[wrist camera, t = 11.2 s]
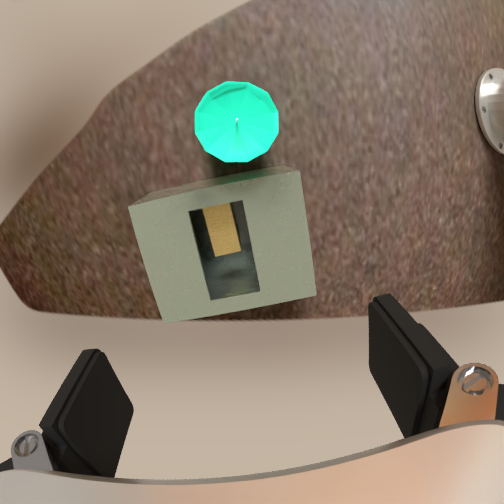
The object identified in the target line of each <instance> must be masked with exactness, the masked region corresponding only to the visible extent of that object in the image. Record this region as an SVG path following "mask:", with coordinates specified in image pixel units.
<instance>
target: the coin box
mask: <svg viewBox="0 0 504 504" xmlns="http://www.w3.org/2000/svg"><path fill="white" fill-rule="evenodd" d="M230 202H232V205H233V209H234V213H235V217H236V221H237V225H238V229H239V233H240V241H241V251H238V252H234V253H230V254H226V255H221V256H217V257H215V254H214V250H213V247H212V243H211V239H210V236H209V232H208V228H207V224H206V221H205V217H204V213H203V209H202V208H206V207H211V206H215V205H220V204H225V203H230ZM128 208H129V212H130V216H131V220H132V223H133V227H134V231H135V234H136V238H137V241H138V245H139V248H140V251H141V255H142V258H143V261H144V265H145V268H146V271H147V274H148V278H149V281H150V284H151V287H152V290H153V293H154V296H155V299H156V302H157V305H158V308H159V311H160V314H161V316H162V319H163V322H164V324H165V323H171V322H178V321H184V320H190V319H196V318H202V317H208V316H213V315H219V314H225V313H230V312H236V311H241V310H246V309H252V308H257V307H262V306H267V305H272V304H277V303H282V302H287V301H292V300H297V299H301V298H306V297H311V296H315V295H316V286H315V277H314V269H313V261H312V253H311V246H310V238H309V231H308V224H307V217H306V210H305V203H304V197H303V190H302V184H301V178H300V172H299V170H297V169H294V168H291V167H289V166H286V165H278V166H273V167H267V168H261V169H256V170H251V171H245V172H240V173H235V174H230V175H225V176H220V177H216V178H211V179H206V180H202V181H197V182H193V183H188V184H184V185H180V186H175V187H171V188H167V189H163V190H159V191H155V192H151V193H149V194H148V195H146V196H144V197H143V198H141V199H140V200H138V201H136V202H135V203H133V204H131V205H130V206H128Z"/></svg>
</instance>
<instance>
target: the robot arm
mask: <svg viewBox="0 0 504 504" xmlns="http://www.w3.org/2000/svg"><path fill="white" fill-rule="evenodd" d="M475 105H476V113H477V117H478V121H479V124H480V127H481V130H482V132H483V134H484V136H485V138H486V139H487V141H488V143H489V144H490V145H491V146H492V147H493V149H495V150H496V151H497V152H498V153H500V154H503V155H504V69H501V68H492V69H488V70H486V71H485V72H484V73H483V74H482V75H481V76H480V78H479V80H478V83H477V86H476V93H475ZM368 312H369V368H370V372H371V374H372V376H373V378H374V380H375V381H376V383H377V385H378V387H379V389H380V391H381V393H382V395H383V397H384V399H385V401H386V403H387V404H388V406H389V408H390V410H391V412H392V414H393V416H394V418H395V420H396V422H397V424H398V426H399V428H400V430H401V432H402V434H403V436H404V439H401V440H398V441H395V442H392V443H389V444H386V445H383V446H380V447H377V448H374V449H370V450H366V451H363V452H359V453H356V454H352V455H348V456H344V457H340V458H336V459H333V460H328V461H324V462H320V463H315V464H311V465H306V466H301V467H296V468H290V469H285V470H279V471H272V472H265V473H258V474H250V475H242V476H233V477H222V478H207V479H184V480H147V479H146V480H145V479H124V478H114V477H115V473H116V469H117V466H118V462H119V459H120V455H121V451H122V448H123V445H124V441H125V438H126V435H127V432H128V428H129V425H130V422H131V419H132V416H133V412H134V411H133V405H132V403H131V401H130V399H129V398H128V396H127V394H126V393H125V391H124V389H123V387H122V385H121V383H120V382H119V380H118V378H117V376H116V374H115V372H114V370H113V369H112V367H111V365H110V363H109V361H108V359H107V357H106V355H105V354H104V353H103V352H101V351H100V350H99V349H87V350H83V351H82V353H81V354H80V356H79V357H78V359H77V361H76V362H75V364H74V365H73V367H72V369H71V370H70V372H69V374H68V376H67V377H66V379H65V380H64V382H63V384H62V385H61V387H60V389H59V390H58V392H57V394H56V395H55V397H54V399H53V401H52V402H51V404H50V406H49V408H48V409H47V411H46V413H45V415H44V417H43V418H42V420H41V422H40V424H39V426H40V427H41V429H42V430H43V433H42V434H40V433H39V432H38V431H35V430H30V431H26V432H23V433H22V434H21V435H19V436H18V437H17V438H16V439H15V440H14V442H13V443H12V446H11V455H12V458H10V459H8V460H6V461H4V462H3V463H1V464H0V504H504V384H498V383H499V382H498V376H497V374H496V373H495V371H494V370H493V369H491V368H490V367H488V366H486V365H484V364H480V363H469V364H465V365H463V366H461V367H459V366H458V365H457V364H456V363H455V361H454V360H453V359H452V358H451V357H450V355H449V354H448V353H447V352H446V351H445V350H444V348H443V347H442V346H441V345H440V344H439V343H438V342H437V340H436V339H435V338H434V337H433V336H432V335H431V334H430V332H429V331H428V330H427V329H426V328H425V327H424V326H423V325H422V324H419V323H417V322H416V321H415V320H414V319H413V318H412V317H411V316H410V314H409V313H408V312H407V311H406V310H405V309H404V308H403V307H402V306H401V305H400V303H399V302H398V301H397V300H396V299H395V298H394V297H393V296H392V295H391V294H390V293H388V294H384V295H381V296H377V297H374V298H373V302H371V303H369V305H368Z"/></svg>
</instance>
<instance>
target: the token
mask: <svg viewBox="0 0 504 504" xmlns="http://www.w3.org/2000/svg"><path fill="white" fill-rule="evenodd" d="M202 209H203V213H204V217H205V221H206V224H207V228H208V232H209V236H210V239H211V243H212V247H213V250H214V254H215V257H217V256H221V255H226V254H230V253H234V252H238V251H241V241H240V233H239V229H238V225H237V221H236V217H235V213H234V209H233V205H232V202H230V203H225V204H220V205H215V206H211V207H206V208H202Z"/></svg>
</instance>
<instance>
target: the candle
mask: <svg viewBox="0 0 504 504" xmlns="http://www.w3.org/2000/svg"><path fill="white" fill-rule="evenodd" d="M195 134H196V135H197V137H198V139H199V140H200V142H201V144H202V146H203V147H204V149H205V151H206V152H208V153H210V154H212V155H213V156H215V157H217V158H219V159H220V160H222V161H224V162H248V161H250V160H252V159H254V158H256V157H258V156H259V155H261V154H263V153H265V152H267V151H268V149H269V147H270V146H271V144H272V143H273V141H274V139H275V138H276V136H277V134H278V111H277V109H276V107H275V105H274V103H273V101H272V99H271V97H270V96H269V94H268V92H266V91H264V90H262V89H260V88H258V87H256V86H254V85H252V84H251V83H249V82H228V81H226V82H224V83H222V84H220V85H219V86H217V87H215V88H213V89H212V90H210V91H208V92H206V94H205V96H204V97H203V99H202V100H201V102H200V104H199V105H198V107H197V109H196V110H195Z"/></svg>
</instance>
